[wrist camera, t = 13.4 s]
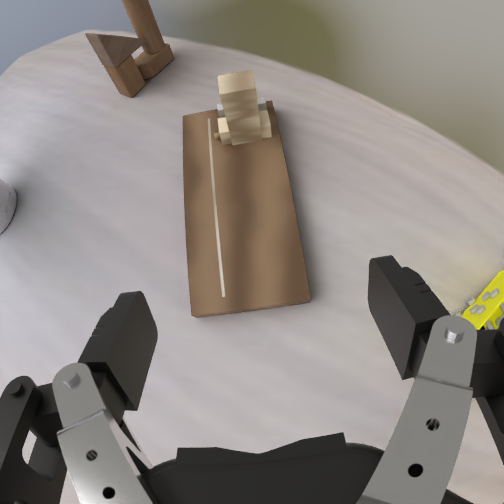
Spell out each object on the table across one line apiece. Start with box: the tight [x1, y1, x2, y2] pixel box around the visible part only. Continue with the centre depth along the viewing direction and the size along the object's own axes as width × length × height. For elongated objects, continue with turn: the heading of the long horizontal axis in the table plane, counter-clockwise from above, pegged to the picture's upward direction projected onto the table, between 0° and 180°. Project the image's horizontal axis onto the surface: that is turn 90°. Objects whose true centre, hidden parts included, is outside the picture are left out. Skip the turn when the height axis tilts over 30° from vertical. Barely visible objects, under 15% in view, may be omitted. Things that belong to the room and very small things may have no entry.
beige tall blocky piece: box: [214, 70, 272, 145], centre depth 34 cm, size 7×3×9 cm, turn 98°
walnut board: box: [183, 97, 311, 317], centre depth 35 cm, size 12×26×4 cm, turn 7°
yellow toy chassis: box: [455, 270, 504, 330], centre depth 26 cm, size 16×6×8 cm, turn 123°
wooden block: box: [85, 0, 174, 98], centre depth 38 cm, size 4×11×18 cm, turn 146°
